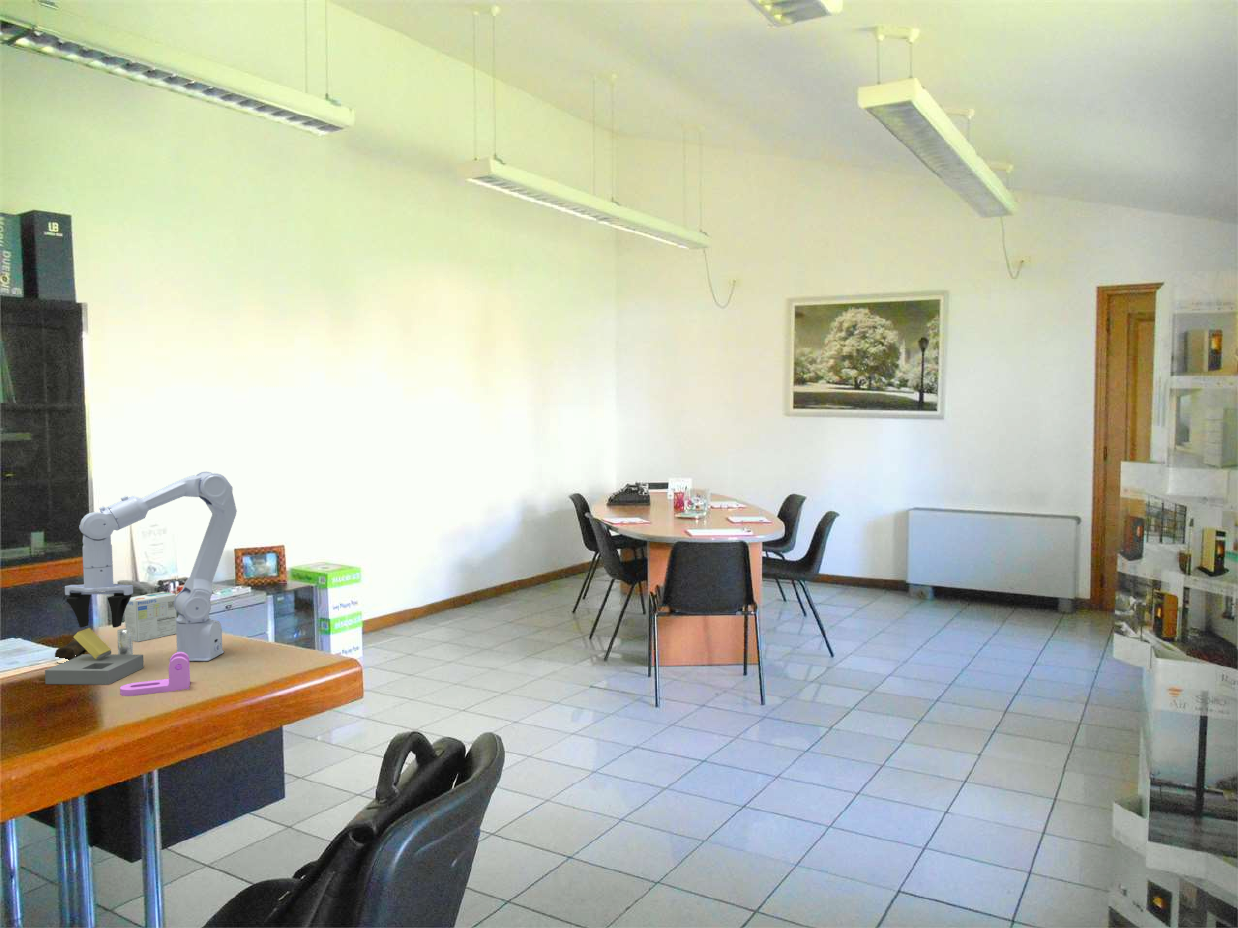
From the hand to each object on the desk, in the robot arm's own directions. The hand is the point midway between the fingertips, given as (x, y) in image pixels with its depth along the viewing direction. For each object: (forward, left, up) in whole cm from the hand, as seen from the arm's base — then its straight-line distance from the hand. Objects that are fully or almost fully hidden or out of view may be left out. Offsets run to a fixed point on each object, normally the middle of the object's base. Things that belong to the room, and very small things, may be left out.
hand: (100, 626), depth 203 cm
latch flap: (+2, 0, -5) cm, 5 cm away
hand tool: (+16, -16, -11) cm, 25 cm away
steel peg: (-2, -7, -10) cm, 12 cm away
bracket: (-20, +12, -11) cm, 26 cm away
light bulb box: (+7, -33, -11) cm, 35 cm away
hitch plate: (-1, +3, -10) cm, 11 cm away
